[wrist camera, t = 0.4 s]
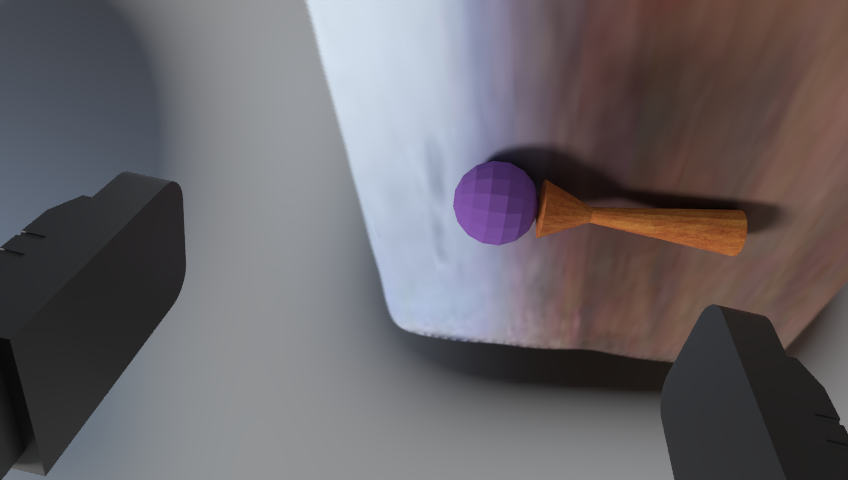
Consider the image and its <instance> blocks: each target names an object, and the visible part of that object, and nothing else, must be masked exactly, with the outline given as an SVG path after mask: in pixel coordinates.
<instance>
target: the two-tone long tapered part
mask: <svg viewBox="0 0 848 480" xmlns="http://www.w3.org/2000/svg"><path fill="white" fill-rule="evenodd" d="M453 207H454V210H455V214H456V217H457V221H458V223H459V224H460V225H461V227H462V228H463V229H464V230H465V232H466V233H467V234H468V235H469V236H471V237H473V238H474V239H476V240H478V241H480V242H482V243H486V244H494V245H501V244H505V243H509V242H513V241H516V240H517V239H518V238H520V237H521V236H522V235H523V234H525V233H526V232H527V231H528V230H529V229H530V227H531V225H532V223H533V222H534V220H535V218H536V237H537V238H539V237H543V236H546V235H549V234H553V233H556V232H559V231H562V230H566V229H569V228H572V227H576V226H579V225H582V224H586V223H589V222H590V223H594V224H599V225H603V226H607V227H611V228H616V229H620V230H624V231H628V232H633V233H637V234H641V235H645V236H650V237H654V238H658V239H662V240H667V241H671V242H675V243H679V244H684V245H688V246H692V247H696V248H701V249H705V250H709V251H713V252H718V253H722V254H726V255H730V256H736V255H737V254H739V252H740V251H741V249H742V248H743V245H744V243H745V240H746V234H747V219H746V215H745V213H744V212H743V211H742V210H718V209H660V208H601V207H590V206H588V205H587V204H585V203H584V202H582V201H580V200H579V199H577V198H575V197H574V196H572V195H570V194H569V193H567V192H566V191H564V190H562V189H561V188H559V187H557V186H556V185H554V184H552V183H551V182H549V181H548V180H544V182H543V184H542V188H541V191H540V195H539V198H538V195H537V191H536V187H535V184H534V183H533V181H532V180H531V179H530V177H529V176H528V175H527V173H526V172H525V171H524V170H522V169H520V168H518V167H517V166H515V165H513V164H511V163H507V162H499V161H491V162H487V163H484V164H480V165H477V166H475V167H474V168H473V169H471V170H470V171H469V172H468V173H466V174H465V175H464V176H463V178H462V179H461V181H460V183H459V184H458V186H457V188H456V190H455V197H454V205H453Z"/></svg>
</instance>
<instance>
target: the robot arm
mask: <svg viewBox="0 0 848 480" xmlns="http://www.w3.org/2000/svg"><path fill="white" fill-rule="evenodd" d="M184 234H185V233H184V212H183V195H182V190H181V187H180V186H179V184H177V183H176V182H173V181H169V180H164V179H160V178H155V177H151V176H146V175H142V174H138V173H133V172H129V171H127V172H123V173H121V174H119V175H118V176H117V177H115V179H113V180H112V181H111V182H110V183H108V184H107V185H106V186H105V187H104V188H102V189H101V190H100V191H99V192H98V193H97V194H95V195H94V196H93V197H88V196H84V195H83V196H80V197H78V198H75V199H73V200H70V201H68V202H65V203H63V204H61V205H59V206H56V207H53V208H51V209H48V210H47V211H45V212H44V213H43V214H42V215H40V216H39V217H38V218H37V219H36V220H34V221H33V222H32V223H30V224H29V225H28V226H27V227H25V228H24V229H23V230H22V231H21V235H20V236H19V235H15V236H14V237H13V238H12V239H10V240H9V241H8V242H7V243H5V244H4V245H3V246H1V247H0V480H2V478H3V477H4V476H5V475H6V474H7V472H8V471H9V470H10V469H11V468H13V469H18V470H21V471H26V472H30V473H35V474H39V475H43V476H46V475H47V473H48V472H49V471H50V469H51V468H52V467H53V465H54V464H55V463H56V461H57V460H58V459H59V457H60V456H61V455H62V453H63V452H64V451H65V449H66V448H67V447H68V445H69V444H70V443H71V441H72V440H73V439H74V437H75V436H76V435H77V433H78V432H79V431H80V429H81V428H82V427H83V425H84V424H85V423H86V421H87V420H88V418H89V417H90V416H91V415H92V413H93V412H94V410H95V409H96V408H97V406H98V405H99V404H100V402H101V401H102V400H103V398H104V397H105V396H106V394H107V393H108V392H109V390H110V389H111V388H112V386H113V385H114V384H115V382H116V381H117V380H118V378H119V377H120V376H121V374H122V373H123V372H124V370H125V369H126V368H127V366H128V365H129V364H130V362H131V361H132V360H133V358H134V357H135V355H136V354H137V353H138V351H139V350H140V349H141V347H142V346H143V345H144V343H145V342H146V341H147V339H148V338H149V337H150V335H151V334H152V333H153V331H154V330H155V329H156V327H157V326H158V325H159V323H160V322H161V321H162V319H163V318H164V317H165V315H166V314H167V313H168V311H169V310H170V308H171V307H172V306H173V304H174V303H175V301H176V300H177V298H178V296H179V293H180V291H181V288H182V285H183V281H184V277H185V271H186V255H185V235H184ZM661 418H662V423H663V428H664V433H665V437H666V442H667V447H668V452H669V456H670V461H671V466H672V470H673V475H674V479H675V480H848V433H847V431H846V429H845V427H844V426H843V425H840V424H839V421H840V418H839V416H838V414H837V412H836V410H835V408H834V406H833V404H832V402H831V400H830V398H829V396H828V394H827V392H826V390H825V388H824V387H823V386H822V385H821V384H820V383H819V382H818V381H817V380H816V379H815V378H814V376H812V374H811V373H810V372H809V371H808V370H807V369H806V368H805V367H804V366H803V365H802V364H801V363H800V362H799V360H798V359H796V358H793V357H789V356H787V355H786V353H785V351H784V348H783V346H782V344H781V342H780V340H779V338H778V336H777V334H776V332H775V329H774V327H773V325H772V323H771V322H770V320H769V319H768V318H767V317H765V316H763V315H759V314H754V313H750V312H745V311H741V310H736V309H732V308H727V307H723V306H719V305H714V304H713V305H710V306H708V307H707V308H705V309H704V311H703V312H702V313H701V315H700V317H699V318H698V320H697V322H696V324H695V326H694V328H693V329H692V331H691V333H690V335H689V337H688V338H687V340H686V342H685V344H684V346H683V348H682V349H681V351H680V353H679V355H678V357H677V359H676V360H675V362H674V364H673V366H672V368H671V370H670V371H669V373H668V375H667V377H666V380H665V383H664V386H663V390H662V395H661Z"/></svg>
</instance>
